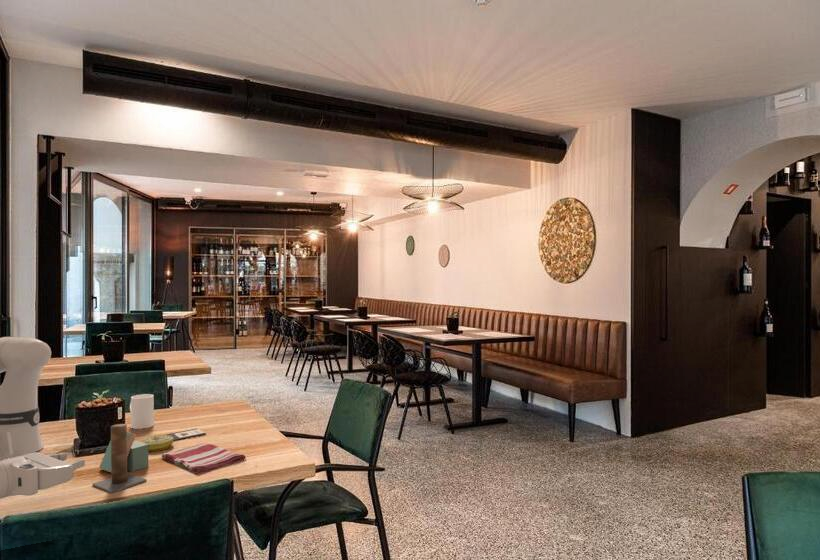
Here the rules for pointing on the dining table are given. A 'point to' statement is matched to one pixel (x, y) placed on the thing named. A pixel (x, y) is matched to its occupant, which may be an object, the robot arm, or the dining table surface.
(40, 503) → the dining table surface
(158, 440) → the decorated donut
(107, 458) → the tile
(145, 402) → the mug
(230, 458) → the dish towel
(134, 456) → the sage green block
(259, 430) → the dining table surface
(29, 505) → the dining table surface
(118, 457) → the dowel
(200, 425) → the dining table surface
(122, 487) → the coaster
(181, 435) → the chocolate bar
